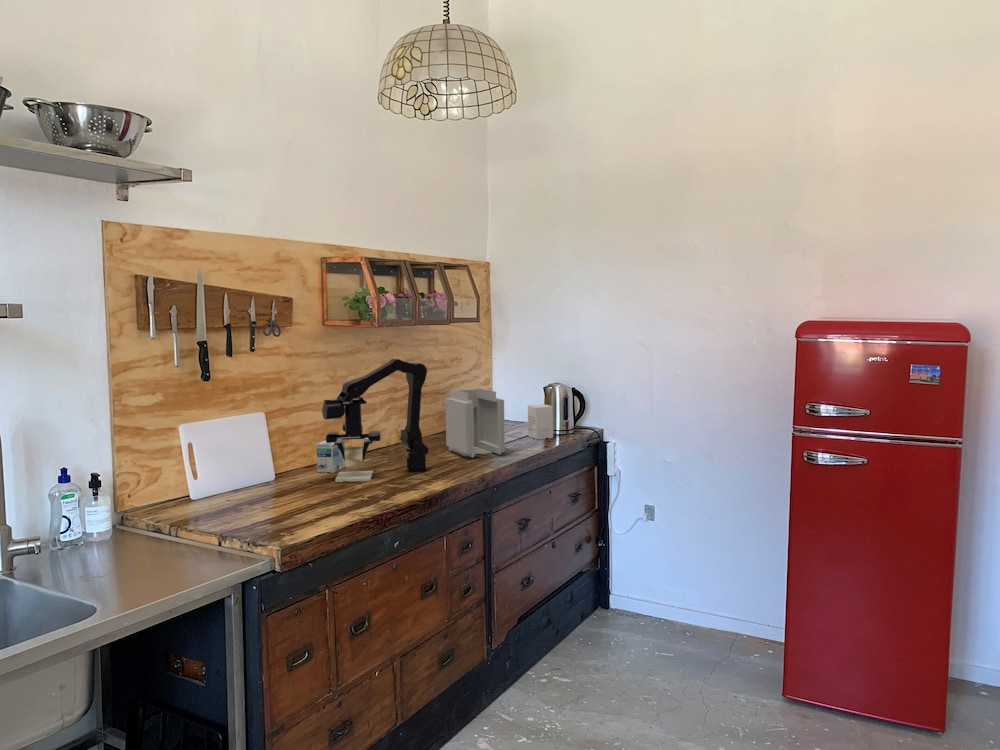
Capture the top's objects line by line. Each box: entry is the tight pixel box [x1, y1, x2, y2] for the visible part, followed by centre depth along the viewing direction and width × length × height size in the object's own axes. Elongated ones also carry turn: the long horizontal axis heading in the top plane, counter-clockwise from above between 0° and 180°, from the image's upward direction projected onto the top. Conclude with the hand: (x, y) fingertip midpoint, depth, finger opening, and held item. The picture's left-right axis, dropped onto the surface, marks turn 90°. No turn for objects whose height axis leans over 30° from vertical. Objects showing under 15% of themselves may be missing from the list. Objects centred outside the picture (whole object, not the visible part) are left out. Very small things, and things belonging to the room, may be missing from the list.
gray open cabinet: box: [445, 387, 506, 458], centre depth 304 cm, size 17×27×26 cm, turn 26°
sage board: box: [334, 470, 374, 483], centre depth 261 cm, size 12×12×1 cm
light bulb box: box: [316, 440, 346, 474], centre depth 274 cm, size 11×7×11 cm, turn 168°
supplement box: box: [527, 404, 554, 440], centre depth 340 cm, size 9×9×15 cm
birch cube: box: [345, 446, 365, 468], centre depth 260 cm, size 6×6×6 cm
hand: (354, 460), depth 260 cm, fingers closed on birch cube, 6 cm apart
